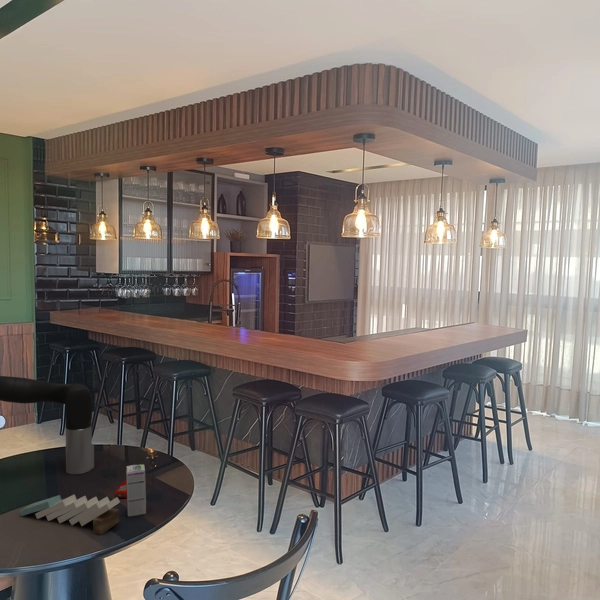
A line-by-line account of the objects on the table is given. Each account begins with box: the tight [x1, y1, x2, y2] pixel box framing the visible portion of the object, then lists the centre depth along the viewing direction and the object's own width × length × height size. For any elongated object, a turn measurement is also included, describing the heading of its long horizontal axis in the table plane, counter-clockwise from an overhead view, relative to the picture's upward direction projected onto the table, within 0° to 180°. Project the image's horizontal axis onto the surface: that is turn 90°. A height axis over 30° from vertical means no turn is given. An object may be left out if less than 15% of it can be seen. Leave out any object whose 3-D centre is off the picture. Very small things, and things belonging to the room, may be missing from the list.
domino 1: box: [19, 494, 62, 517], centre depth 160 cm, size 2×5×12 cm
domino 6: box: [78, 496, 121, 527], centre depth 153 cm, size 2×5×12 cm
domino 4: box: [56, 496, 100, 524], centre depth 155 cm, size 2×5×12 cm
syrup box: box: [125, 463, 147, 517], centre depth 162 cm, size 6×6×14 cm
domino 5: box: [68, 496, 111, 526], centre depth 154 cm, size 2×5×12 cm
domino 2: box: [34, 494, 77, 520], centre depth 158 cm, size 2×5×12 cm
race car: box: [114, 479, 127, 499], centre depth 178 cm, size 13×5×4 cm, turn 169°
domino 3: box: [45, 495, 88, 522], centre depth 157 cm, size 2×5×12 cm
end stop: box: [92, 507, 120, 535], centre depth 152 cm, size 3×8×4 cm, turn 163°
